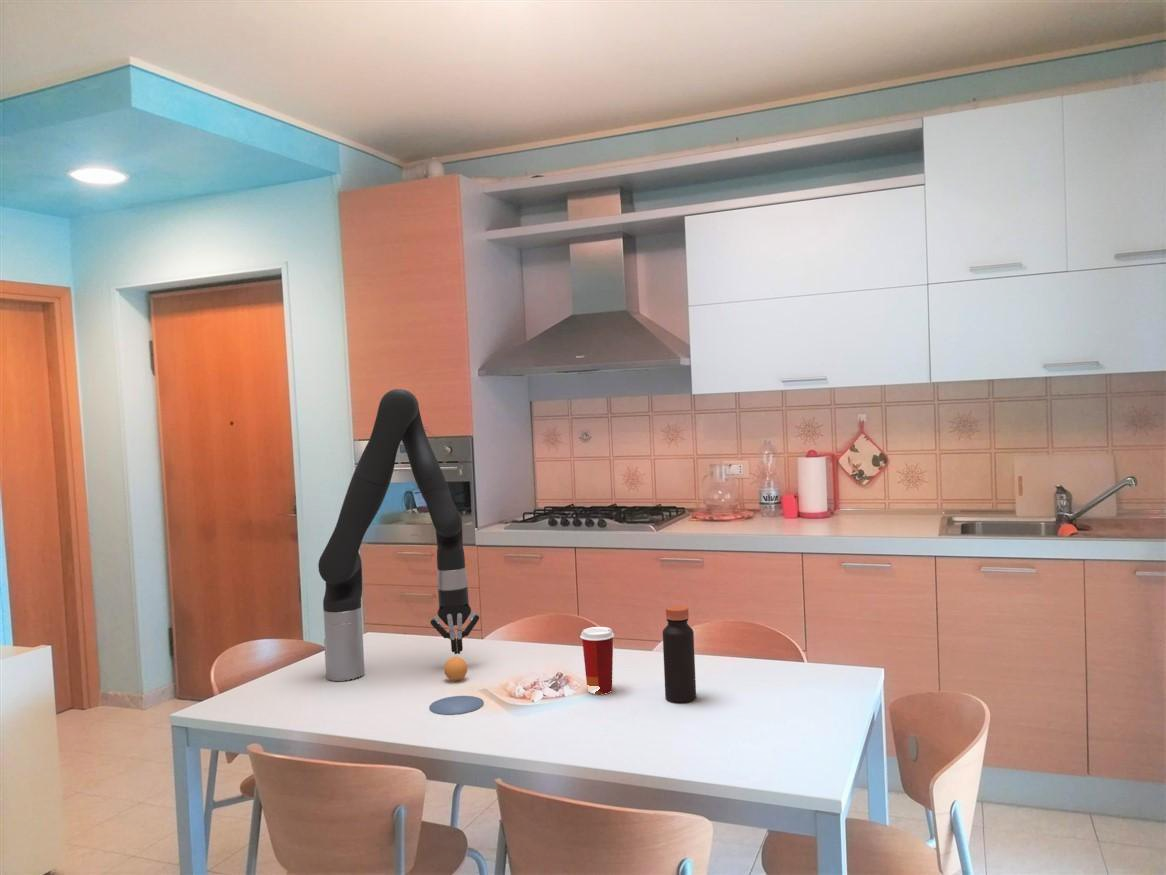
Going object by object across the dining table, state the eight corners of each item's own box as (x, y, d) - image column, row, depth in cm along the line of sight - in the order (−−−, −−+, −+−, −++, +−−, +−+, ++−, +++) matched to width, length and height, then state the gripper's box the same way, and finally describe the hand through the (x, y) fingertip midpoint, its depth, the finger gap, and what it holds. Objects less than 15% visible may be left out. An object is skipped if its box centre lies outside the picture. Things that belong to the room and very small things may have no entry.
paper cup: (617, 685, 200) (614, 625, 200) (615, 696, 193) (612, 634, 192) (584, 686, 201) (581, 626, 201) (580, 696, 193) (578, 634, 193)
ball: (440, 680, 210) (439, 658, 210) (458, 675, 214) (457, 652, 214) (454, 685, 206) (452, 662, 206) (472, 679, 210) (471, 656, 210)
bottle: (695, 704, 185) (691, 611, 185) (663, 703, 187) (659, 611, 186) (697, 693, 192) (693, 604, 191) (667, 693, 193) (663, 604, 193)
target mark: (418, 707, 191) (418, 706, 191) (461, 693, 200) (461, 692, 200) (451, 718, 183) (451, 717, 183) (494, 703, 191) (494, 702, 191)
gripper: (478, 580, 224) (482, 646, 224) (426, 585, 222) (431, 652, 222) (479, 586, 216) (483, 654, 217) (425, 591, 215) (430, 659, 215)
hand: (457, 653), depth 220 cm, fingers closed
